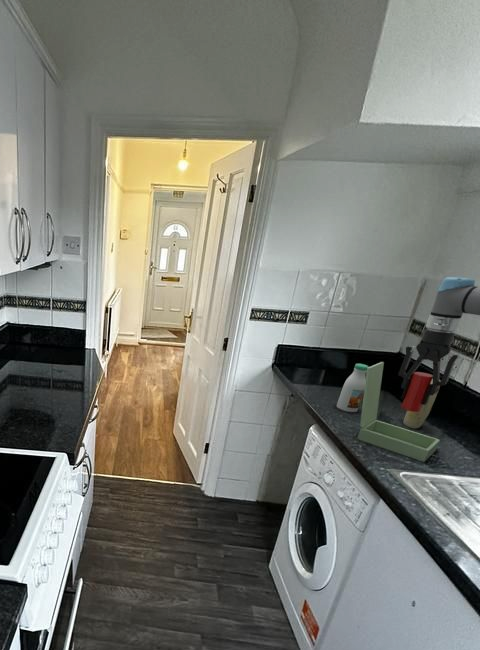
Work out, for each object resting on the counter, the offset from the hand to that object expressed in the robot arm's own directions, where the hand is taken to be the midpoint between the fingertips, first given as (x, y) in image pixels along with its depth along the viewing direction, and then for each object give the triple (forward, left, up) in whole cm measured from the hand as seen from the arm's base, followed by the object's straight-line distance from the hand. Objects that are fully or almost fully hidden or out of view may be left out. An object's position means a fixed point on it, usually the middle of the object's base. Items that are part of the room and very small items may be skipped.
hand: (413, 400), depth 136 cm
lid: (+12, 0, -2) cm, 12 cm away
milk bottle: (+24, -21, -17) cm, 37 cm away
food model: (+2, -27, -17) cm, 32 cm away
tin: (0, 0, -3) cm, 3 cm away
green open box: (0, 0, -17) cm, 17 cm away
